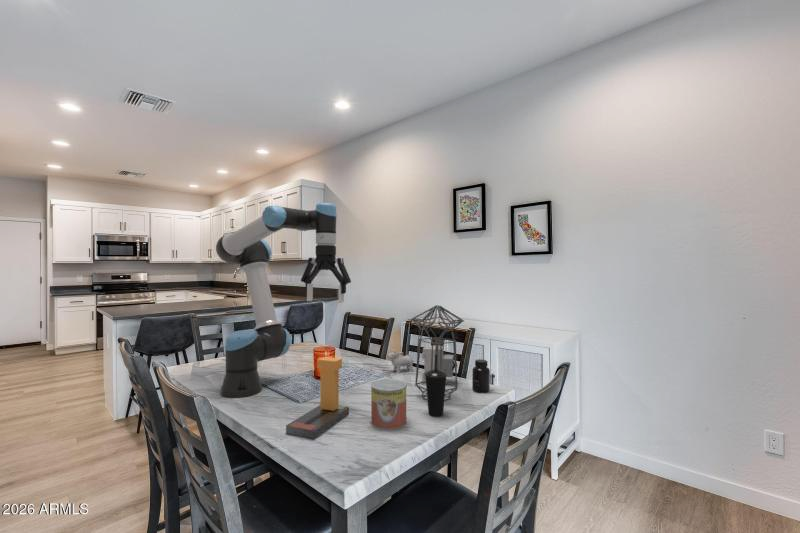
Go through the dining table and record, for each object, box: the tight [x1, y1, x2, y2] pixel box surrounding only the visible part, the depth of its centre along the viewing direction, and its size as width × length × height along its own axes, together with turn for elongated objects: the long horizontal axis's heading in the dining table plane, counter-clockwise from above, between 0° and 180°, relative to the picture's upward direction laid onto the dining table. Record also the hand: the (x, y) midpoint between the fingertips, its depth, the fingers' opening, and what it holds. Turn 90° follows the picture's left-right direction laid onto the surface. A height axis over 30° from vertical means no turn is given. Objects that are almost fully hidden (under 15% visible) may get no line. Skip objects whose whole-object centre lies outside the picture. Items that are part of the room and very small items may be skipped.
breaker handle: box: [316, 356, 343, 411], centre depth 126 cm, size 4×7×16 cm, turn 68°
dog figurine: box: [386, 349, 414, 374], centre depth 181 cm, size 5×13×11 cm, turn 114°
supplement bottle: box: [471, 359, 491, 394], centre depth 153 cm, size 7×7×12 cm
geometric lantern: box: [410, 304, 465, 402], centre depth 145 cm, size 16×16×35 cm
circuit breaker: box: [421, 344, 458, 386], centre depth 163 cm, size 8×14×15 cm, turn 78°
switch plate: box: [285, 404, 350, 440], centre depth 121 cm, size 20×10×3 cm, turn 158°
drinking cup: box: [425, 354, 448, 418], centre depth 129 cm, size 8×8×20 cm
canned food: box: [370, 379, 408, 431], centre depth 122 cm, size 11×11×12 cm
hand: (325, 301), depth 144 cm, fingers open, 13 cm apart
